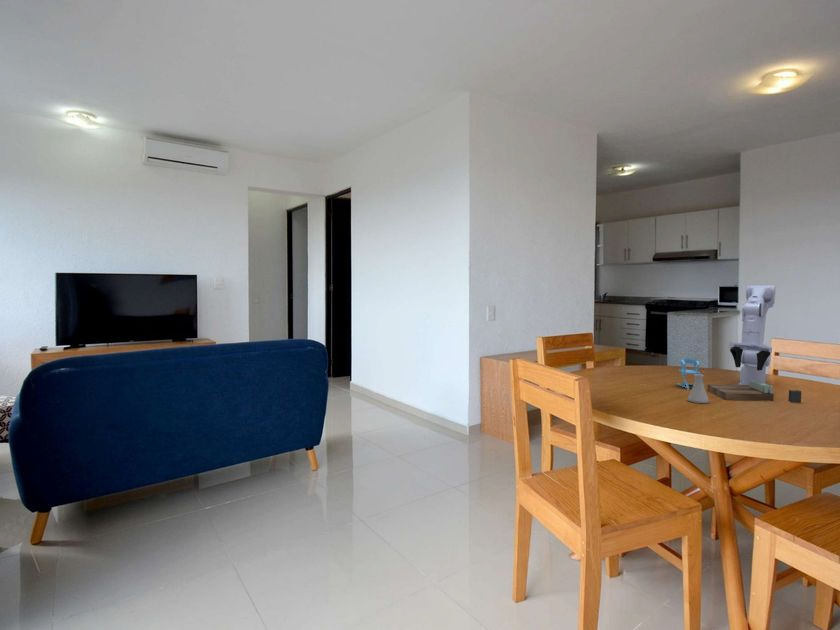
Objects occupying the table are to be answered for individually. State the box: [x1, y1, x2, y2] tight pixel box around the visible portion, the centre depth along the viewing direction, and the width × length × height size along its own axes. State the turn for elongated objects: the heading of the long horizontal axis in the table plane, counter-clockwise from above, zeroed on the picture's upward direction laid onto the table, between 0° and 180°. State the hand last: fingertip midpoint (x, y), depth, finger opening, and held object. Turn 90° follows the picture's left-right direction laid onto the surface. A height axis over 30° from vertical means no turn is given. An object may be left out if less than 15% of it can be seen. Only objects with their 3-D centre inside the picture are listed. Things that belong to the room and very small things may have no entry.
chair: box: [676, 358, 701, 390], centre depth 200 cm, size 8×8×12 cm
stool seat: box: [707, 383, 775, 402], centre depth 186 cm, size 16×16×2 cm
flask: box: [687, 373, 710, 404], centre depth 177 cm, size 7×7×10 cm
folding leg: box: [749, 380, 774, 394], centre depth 182 cm, size 11×3×2 cm, turn 171°
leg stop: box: [788, 389, 802, 403], centre depth 174 cm, size 2×3×4 cm, turn 82°
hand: (748, 368), depth 183 cm, fingers open, 7 cm apart
